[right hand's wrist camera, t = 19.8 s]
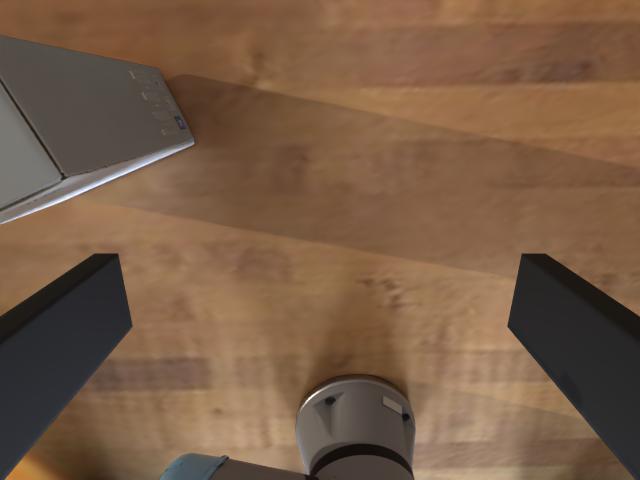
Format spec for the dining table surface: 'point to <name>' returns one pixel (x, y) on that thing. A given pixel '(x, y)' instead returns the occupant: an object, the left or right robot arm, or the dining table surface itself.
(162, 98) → the hard drive box
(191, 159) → the dining table surface
